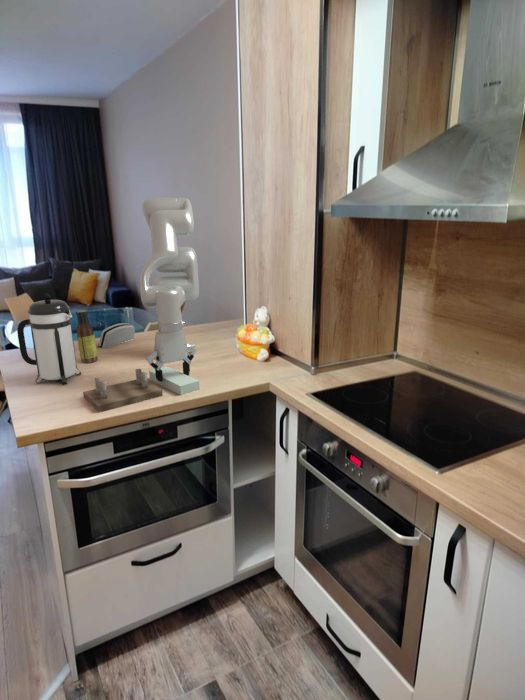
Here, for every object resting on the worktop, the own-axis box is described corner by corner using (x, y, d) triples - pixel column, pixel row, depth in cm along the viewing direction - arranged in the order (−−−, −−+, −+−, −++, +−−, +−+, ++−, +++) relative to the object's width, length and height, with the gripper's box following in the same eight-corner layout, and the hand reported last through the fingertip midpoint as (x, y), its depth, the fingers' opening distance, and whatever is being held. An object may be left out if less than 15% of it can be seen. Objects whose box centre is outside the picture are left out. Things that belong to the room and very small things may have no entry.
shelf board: (149, 380, 161) (148, 370, 160) (167, 375, 165) (166, 366, 164) (181, 396, 147) (180, 386, 146) (199, 390, 151) (199, 380, 150)
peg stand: (144, 383, 157) (142, 363, 155) (162, 395, 146) (160, 374, 144) (83, 397, 145) (81, 376, 143) (99, 412, 135) (96, 389, 133)
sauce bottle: (101, 358, 183) (95, 309, 178) (92, 363, 177) (86, 312, 172) (85, 358, 184) (79, 308, 179) (77, 363, 178) (70, 312, 173)
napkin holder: (127, 338, 213) (130, 318, 208) (134, 342, 211) (137, 323, 206) (96, 346, 200) (98, 326, 195) (103, 352, 198) (106, 331, 193)
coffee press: (76, 368, 173) (65, 287, 164) (86, 380, 160) (75, 294, 151) (24, 377, 164) (10, 292, 155) (30, 391, 151) (15, 300, 142)
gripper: (188, 321, 158) (190, 369, 163) (139, 329, 148) (144, 380, 153) (199, 325, 152) (201, 375, 157) (149, 333, 142) (154, 386, 147)
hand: (173, 377), depth 155 cm, fingers open, 9 cm apart
